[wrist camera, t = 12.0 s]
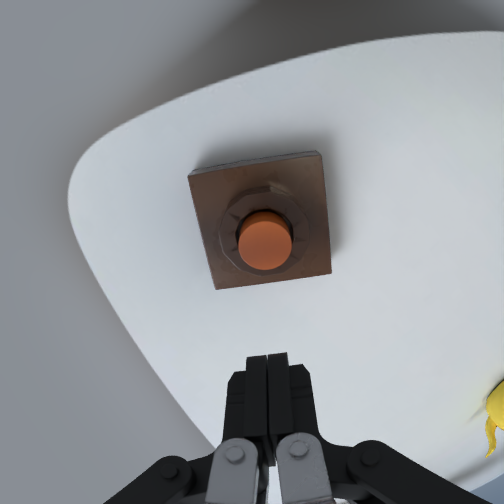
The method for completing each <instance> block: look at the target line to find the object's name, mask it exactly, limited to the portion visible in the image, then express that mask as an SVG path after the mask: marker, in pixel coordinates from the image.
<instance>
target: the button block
mask: <svg viewBox="0 0 504 504" xmlns="http://www.w3.org/2000/svg"><path fill="white" fill-rule="evenodd" d="M188 181H189V186H190V190H191V194H192V199H193V203H194V207H195V211H196V216H197V220H198V224H199V228H200V232H201V236H202V240H203V244H204V248H205V252H206V256H207V260H208V264H209V268H210V272H211V276H212V279H213V283H214V287H215V290H219V289H226V288H234V287H242V286H249V285H257V284H264V283H271V282H279V281H286V280H293V279H299V278H306V277H313V276H320V275H326V274H332V267H331V251H330V237H329V224H328V213H327V202H326V192H325V182H324V173H323V164H322V156H321V154H319V153H318V152H317V151H310V152H302V153H294V154H287V155H280V156H273V157H266V158H260V159H253V160H247V161H241V162H235V163H229V164H224V165H218V166H213V167H208V168H202V169H197V170H193V171H192V172H191V173H190V174H189V175H188ZM258 212H272V213H275V214H277V215H279V216H280V217H281V218H283V220H284V221H285V222H286V224H287V225H288V228H289V232H290V237H291V241H292V249H291V253H290V255H289V257H288V258H287V260H286V261H285V262H284V263H283V264H282V265H280V266H278V267H276V268H273V269H269V270H261V269H256V268H254V267H252V266H250V265H248V264H247V263H246V262H245V261H244V260H243V259H242V257H241V255H240V253H239V248H238V243H239V236H240V229H241V226H242V224H243V223H244V221H245V220H246V219H247V218H248V217H249V216H251V215H253V214H255V213H258Z"/></svg>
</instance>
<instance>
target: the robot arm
mask: <svg viewBox="0 0 504 504" xmlns="http://www.w3.org/2000/svg"><path fill="white" fill-rule="evenodd" d="M275 457H276V458H275ZM276 461H277V464H278V472H279V480H280V488H281V496H282V504H336V502H335V500H334V498H339V499H345V500H346V501H348V502H349V503H350V504H492V503H490V502H488V501H486V500H484V499H481V498H480V497H478V496H476V495H474V494H472V493H470V492H468V491H466V490H464V489H462V488H460V487H458V486H456V485H455V484H453V483H451V482H449V481H447V480H445V479H444V478H442V477H440V476H438V475H436V474H435V473H433V472H431V471H429V470H428V469H426V468H424V467H422V466H421V465H419V464H417V463H416V462H414V461H412V460H411V459H409V458H407V457H406V456H404V455H402V454H401V453H399V452H397V451H396V450H394V449H392V448H391V447H389V446H388V445H386V444H384V443H382V442H380V441H376V440H367V441H363V442H361V443H358V444H357V445H355V446H354V447H348V446H339V445H334V444H331V443H329V442H327V441H326V440H324V439H323V438H322V436H321V435H320V433H319V430H318V425H317V418H316V411H315V404H314V398H313V391H312V385H311V378H310V373H309V372H308V370H307V369H306V368H305V367H304V365H303V364H299V365H292V366H289V363H288V356H287V352H285V353H278V354H269V355H268V360H267V356H266V355H262V356H252V357H247V359H246V371H238V372H234V373H233V375H232V377H231V378H230V380H229V382H228V388H227V398H226V408H225V419H224V429H223V438H222V442H221V444H220V445H219V446H218V447H217V448H216V450H215V451H214V452H213V453H212V454H210V455H208V456H205V457H202V458H198V459H195V460H191V461H186V460H185V459H183V458H181V457H178V456H167V457H163V458H161V459H160V460H158V461H157V462H156V463H154V464H153V465H152V466H151V467H149V468H148V469H147V470H146V471H145V472H143V473H142V474H141V475H140V476H138V477H137V478H136V479H135V480H134V481H132V482H131V483H130V484H128V485H127V486H126V487H125V488H123V489H122V490H121V491H119V492H118V493H117V494H116V495H114V496H113V497H111V498H110V499H109V500H107V501H106V502H105V503H103V504H268V493H269V467H271V466H276Z"/></svg>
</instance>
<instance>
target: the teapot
mask: <svg viewBox="0 0 504 504" xmlns="http://www.w3.org/2000/svg"><path fill="white" fill-rule="evenodd" d="M486 409H487V413H488V415H489V417H488V419H487V421H486V425H485V430H486V434H487V437H488V440H489V451H488V453H487V455H486V457H488V456H489V455H490V454H491V453H492V452H493V451H494V450H495V448H496V439H495V429H496V427H497V426H498V427H499V428H501V429H502V430H504V381H503V382H502V383H501V384H500V385H499V386H498V387H497V388H496V389H495V390H494V391H493V392H492V393H491V394H490V395H489V397H488V399H487V404H486ZM486 457H485V458H486Z"/></svg>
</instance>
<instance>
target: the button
mask: <svg viewBox="0 0 504 504" xmlns="http://www.w3.org/2000/svg"><path fill="white" fill-rule="evenodd" d="M238 248H239V253H240V255H241V257H242V259H243V260H244V261H245V262H246V263H247V264H248V265H250V266H252V267H254V268H256V269H261V270H269V269H273V268H276V267H278V266H280V265H282V264H283V263H284V262H285V261H286V260H287V258H288V257H289V255H290V253H291V249H292V241H291V237H290V232H289V228H288V225H287V224H286V222H285V221H284V220H283V218H281V217H280V216H279V215H277V214H275V213H272V212H258V213H255V214H253V215H251V216H249V217H248V218H247V219H246V220H245V221H244V223H243V224H242V226H241V229H240V236H239V243H238Z"/></svg>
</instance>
